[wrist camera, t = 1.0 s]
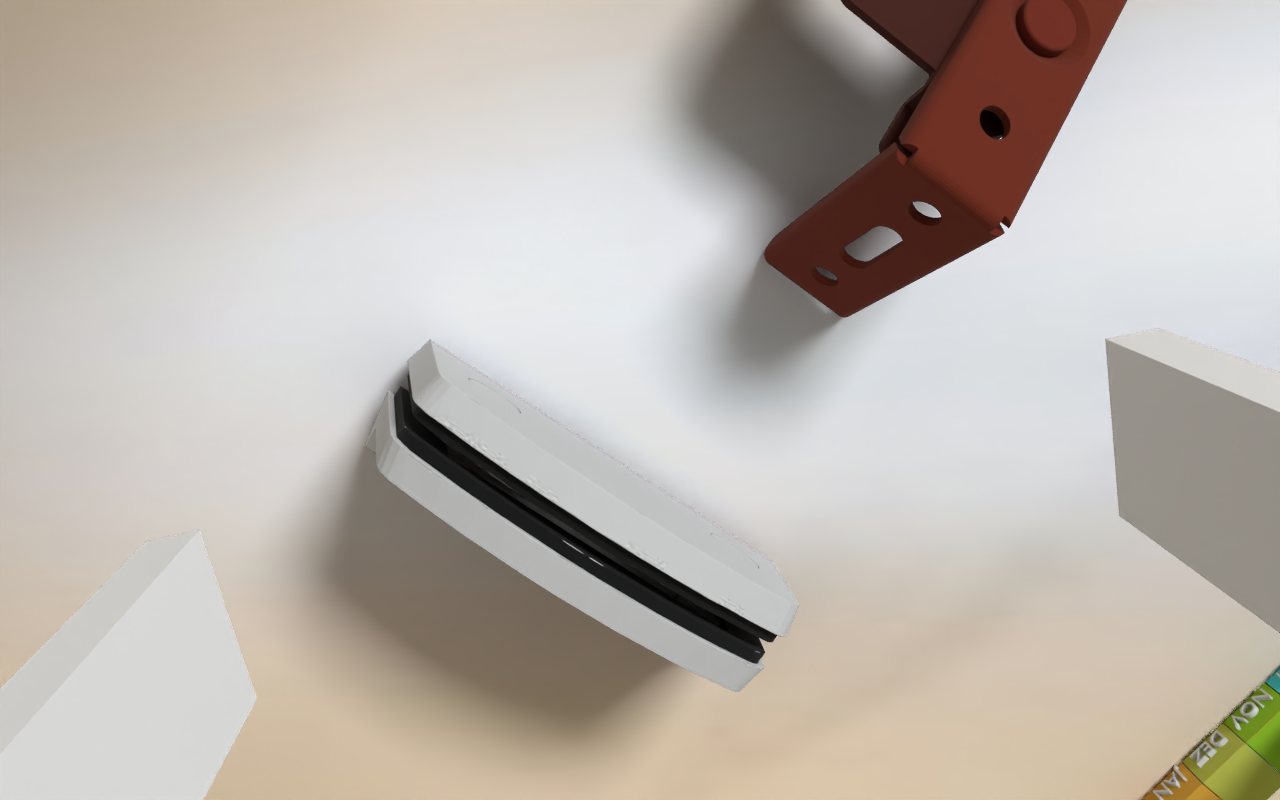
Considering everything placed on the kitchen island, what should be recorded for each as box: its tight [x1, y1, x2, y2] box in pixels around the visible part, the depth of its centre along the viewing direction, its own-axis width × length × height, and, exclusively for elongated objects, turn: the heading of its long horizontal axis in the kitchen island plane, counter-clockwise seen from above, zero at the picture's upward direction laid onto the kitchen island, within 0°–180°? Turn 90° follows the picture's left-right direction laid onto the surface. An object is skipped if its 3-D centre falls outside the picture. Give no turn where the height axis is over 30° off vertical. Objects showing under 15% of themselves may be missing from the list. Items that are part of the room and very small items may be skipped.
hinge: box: [365, 340, 799, 692], centre depth 38 cm, size 17×5×10 cm, turn 55°
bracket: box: [764, 0, 1127, 317], centre depth 37 cm, size 10×14×10 cm
